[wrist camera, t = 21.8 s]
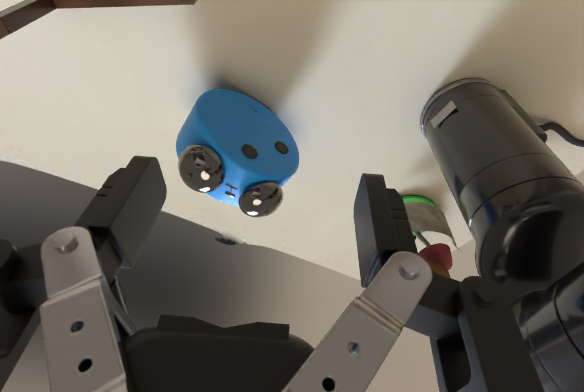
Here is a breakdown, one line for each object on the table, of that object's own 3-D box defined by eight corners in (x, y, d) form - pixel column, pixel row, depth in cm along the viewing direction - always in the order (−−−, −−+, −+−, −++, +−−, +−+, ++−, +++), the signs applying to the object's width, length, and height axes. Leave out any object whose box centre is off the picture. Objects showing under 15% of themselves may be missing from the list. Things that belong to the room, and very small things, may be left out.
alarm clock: (191, 106, 41) (152, 187, 30) (212, 68, 37) (177, 144, 27) (276, 155, 46) (268, 238, 36) (301, 125, 42) (301, 208, 32)
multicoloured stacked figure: (426, 240, 60) (453, 320, 49) (361, 233, 58) (374, 312, 48) (459, 197, 51) (500, 281, 41) (384, 187, 50) (405, 271, 40)
